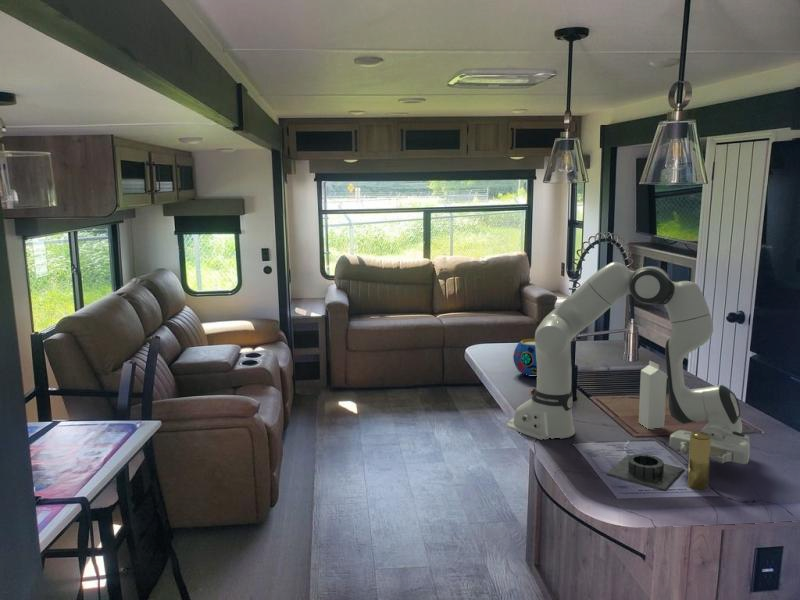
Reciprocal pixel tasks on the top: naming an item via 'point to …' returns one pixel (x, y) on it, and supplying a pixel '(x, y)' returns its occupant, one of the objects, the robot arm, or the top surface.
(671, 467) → the square socket base
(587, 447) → the top surface
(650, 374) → the milk
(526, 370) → the ceramic pot
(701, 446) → the cylinder
